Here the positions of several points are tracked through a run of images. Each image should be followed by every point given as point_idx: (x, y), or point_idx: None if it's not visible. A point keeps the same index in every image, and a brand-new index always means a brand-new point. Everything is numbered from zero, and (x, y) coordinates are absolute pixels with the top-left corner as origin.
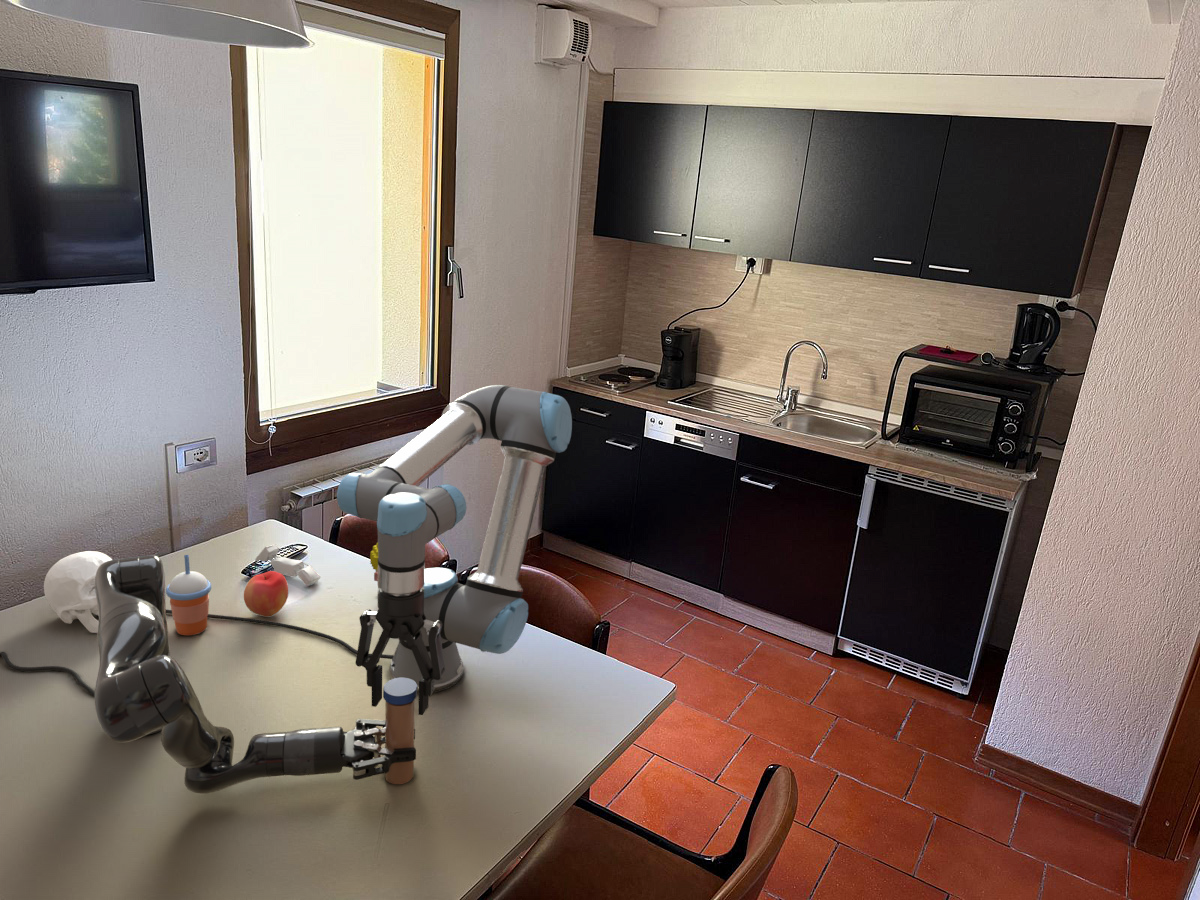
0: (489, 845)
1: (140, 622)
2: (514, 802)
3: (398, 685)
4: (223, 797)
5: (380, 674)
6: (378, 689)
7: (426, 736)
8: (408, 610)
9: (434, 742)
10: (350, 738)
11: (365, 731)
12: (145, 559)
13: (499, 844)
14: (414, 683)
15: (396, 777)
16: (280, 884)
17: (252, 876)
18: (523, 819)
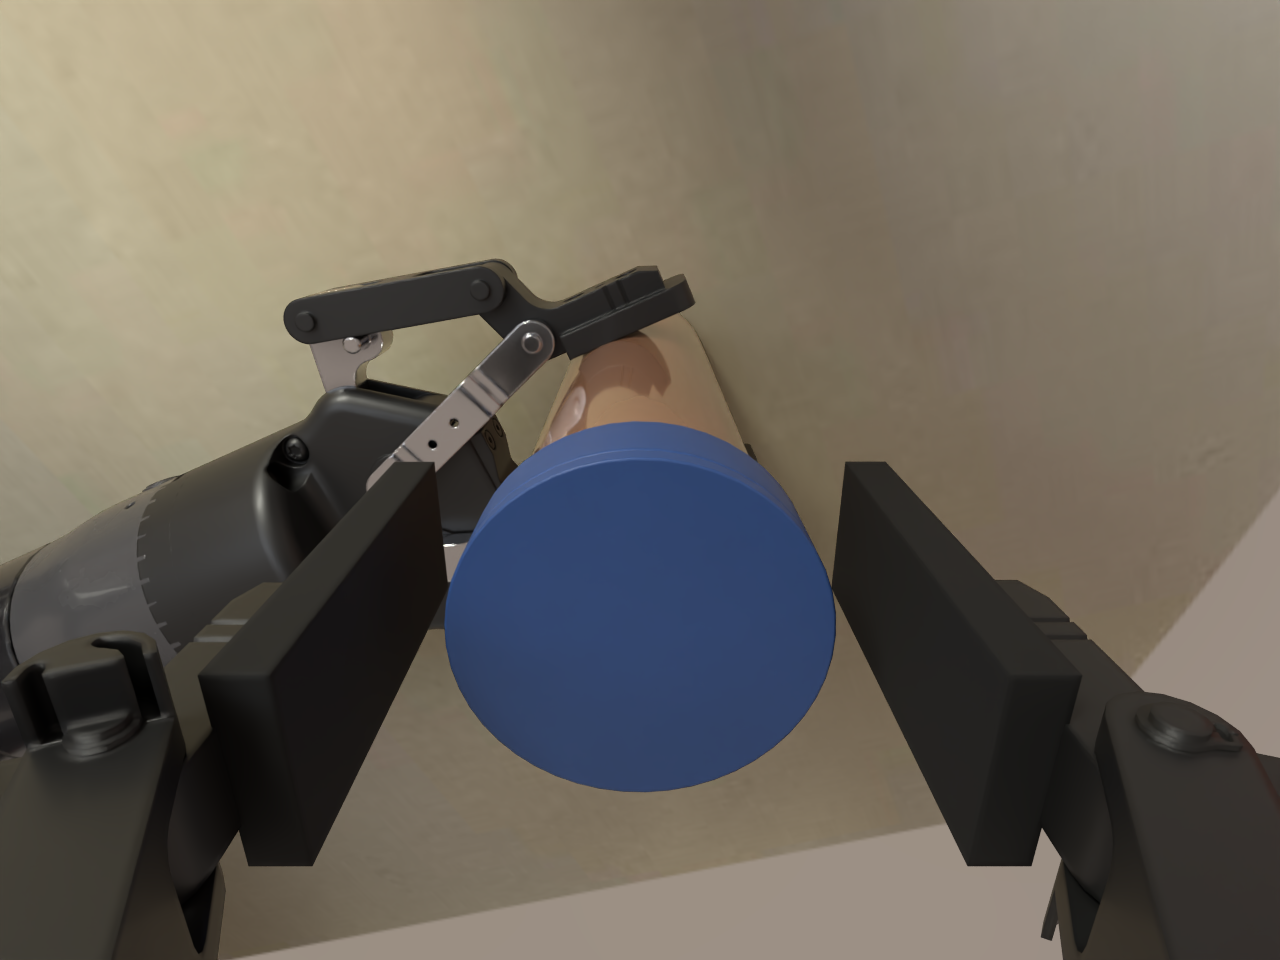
0: (1104, 636)
1: None
2: (1199, 399)
3: (610, 627)
4: None
5: (330, 656)
6: (400, 612)
7: (656, 3)
8: None
9: (719, 49)
10: (359, 492)
11: (413, 442)
12: None
13: (1141, 623)
14: (781, 544)
15: None
16: (501, 891)
17: (409, 887)
18: (1238, 485)
